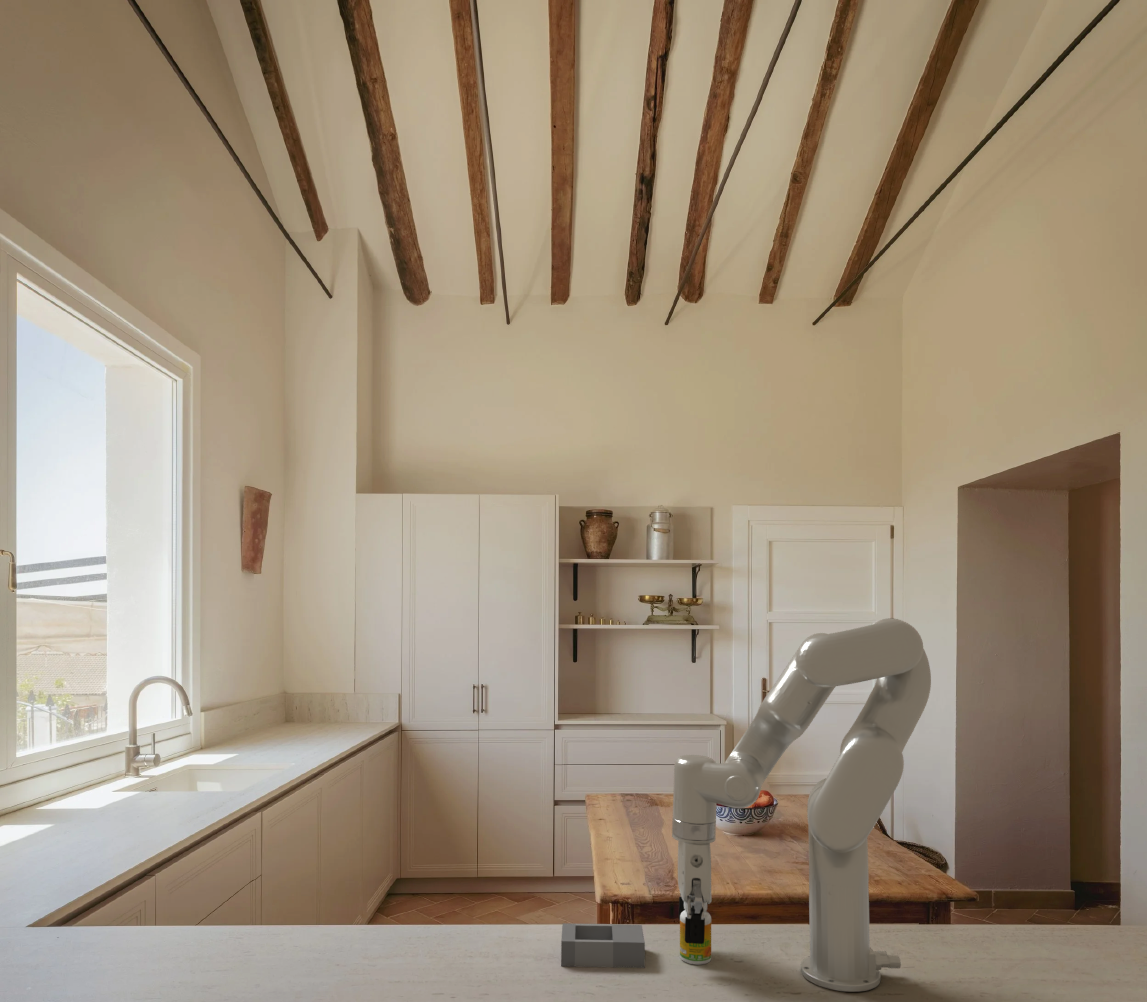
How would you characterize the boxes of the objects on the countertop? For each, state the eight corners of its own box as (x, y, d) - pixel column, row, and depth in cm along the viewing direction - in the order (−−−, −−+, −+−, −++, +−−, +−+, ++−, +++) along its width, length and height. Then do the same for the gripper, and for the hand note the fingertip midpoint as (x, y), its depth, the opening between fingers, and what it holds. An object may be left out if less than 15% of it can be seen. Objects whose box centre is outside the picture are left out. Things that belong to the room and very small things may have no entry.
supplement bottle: (687, 966, 149) (687, 906, 150) (675, 954, 154) (675, 896, 155) (716, 963, 151) (716, 904, 152) (703, 951, 156) (703, 893, 157)
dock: (641, 948, 157) (641, 924, 157) (644, 967, 149) (644, 942, 149) (562, 947, 157) (562, 923, 157) (561, 966, 149) (561, 941, 149)
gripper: (723, 844, 146) (720, 953, 145) (708, 817, 163) (705, 913, 162) (677, 842, 146) (674, 951, 145) (667, 815, 164) (664, 911, 162)
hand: (690, 931), depth 153 cm, fingers open, 9 cm apart
